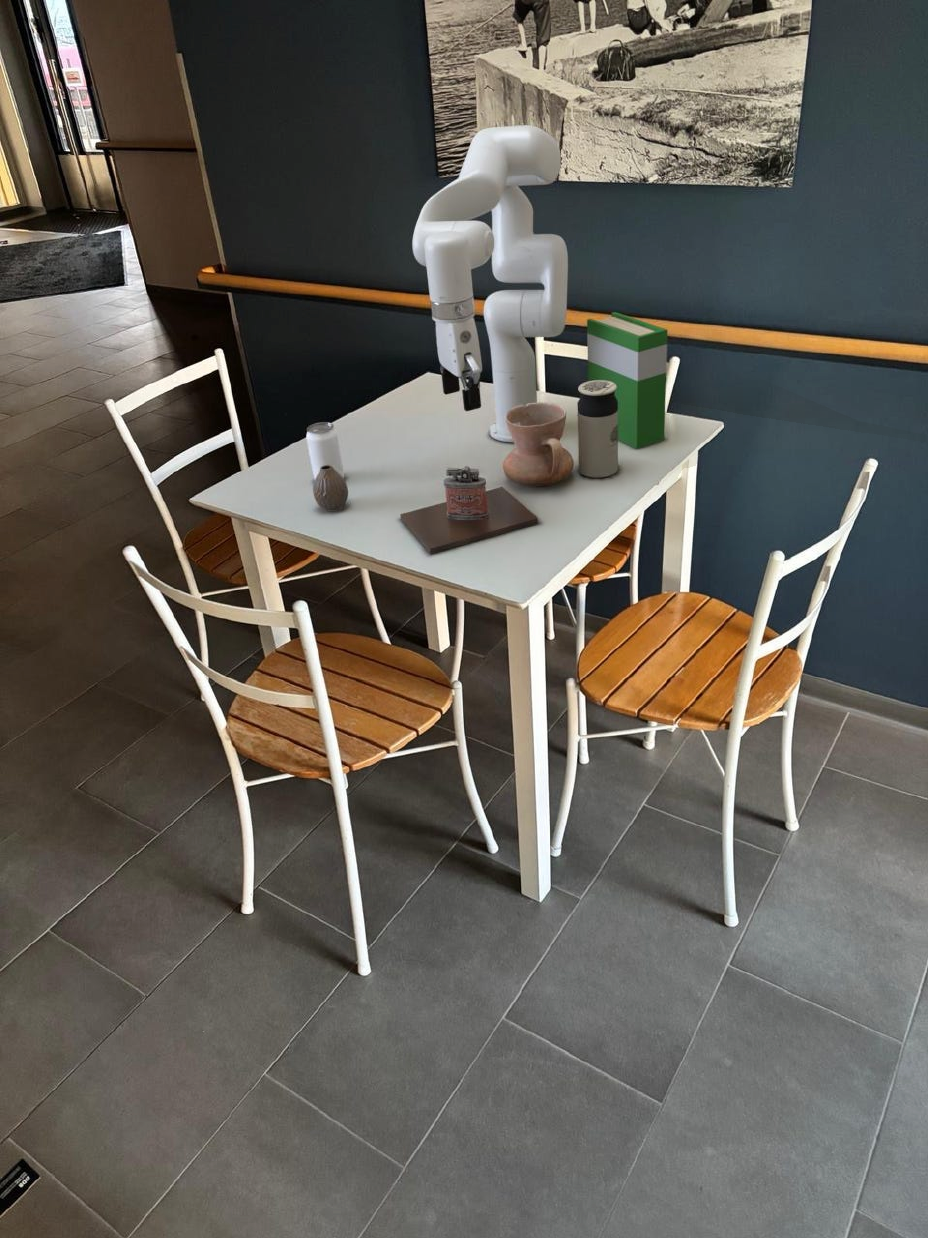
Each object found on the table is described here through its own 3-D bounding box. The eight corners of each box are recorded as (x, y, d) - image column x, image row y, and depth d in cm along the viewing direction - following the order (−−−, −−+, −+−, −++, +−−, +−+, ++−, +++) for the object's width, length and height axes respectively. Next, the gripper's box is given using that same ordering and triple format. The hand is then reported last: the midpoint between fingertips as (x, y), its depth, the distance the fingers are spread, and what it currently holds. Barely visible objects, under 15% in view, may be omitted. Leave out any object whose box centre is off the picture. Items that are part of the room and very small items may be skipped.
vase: (336, 517, 188) (328, 476, 183) (309, 510, 191) (301, 471, 186) (357, 502, 192) (350, 462, 188) (330, 496, 196) (323, 457, 191)
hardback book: (588, 424, 215) (587, 319, 202) (615, 416, 218) (615, 311, 205) (636, 448, 202) (638, 337, 189) (664, 439, 205) (667, 329, 192)
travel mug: (571, 473, 195) (568, 389, 185) (594, 459, 200) (593, 376, 190) (602, 482, 190) (602, 396, 180) (625, 467, 195) (625, 383, 185)
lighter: (490, 511, 181) (486, 464, 176) (487, 520, 178) (482, 471, 173) (449, 511, 183) (444, 464, 177) (445, 519, 180) (440, 471, 174)
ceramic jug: (491, 471, 199) (486, 407, 191) (553, 455, 203) (550, 392, 195) (525, 504, 185) (521, 437, 177) (591, 487, 189) (590, 420, 181)
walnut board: (502, 491, 191) (502, 486, 190) (538, 523, 178) (538, 517, 177) (400, 519, 184) (400, 514, 184) (430, 554, 172) (429, 548, 171)
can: (315, 475, 205) (305, 423, 199) (345, 471, 206) (336, 419, 199) (314, 488, 200) (303, 435, 193) (344, 484, 200) (335, 431, 194)
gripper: (492, 315, 159) (500, 410, 169) (453, 292, 172) (462, 382, 182) (452, 324, 157) (462, 421, 167) (415, 300, 170) (426, 391, 180)
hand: (462, 400), depth 174 cm, fingers open, 9 cm apart
